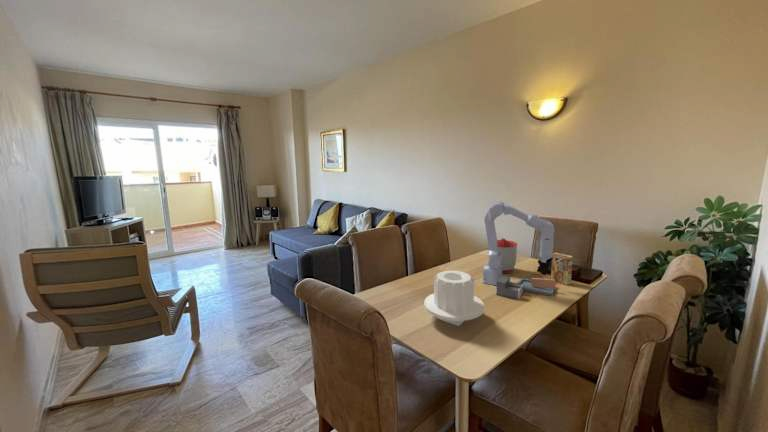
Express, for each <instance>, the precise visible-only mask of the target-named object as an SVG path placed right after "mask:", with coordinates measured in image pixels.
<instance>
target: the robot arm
mask: <svg viewBox="0 0 768 432" xmlns="http://www.w3.org/2000/svg"><path fill="white" fill-rule="evenodd" d="M501 215H503V216H508V215H511V216H514V217H516V218H518V219H520V220H521V221H524V222H525V223H526V225H527V226H529V227H531V228H533V229H535V230H537V231H540V232H541V236H540V244H539V254H538V256H539V258H540V259H538V260H537V264H538V266H539V268H540V270H539V271H540V273H541V275H542V276H543V275H544V276H546V275H547V273H548V271H549V269H550V267H551V264H552V259H553V258H555V255H553V254H554V253H553V252H554V242H555V241H554V239H555V238H554V237H555V235H554V234H555V225H554V224H553V223H552V222H551V221H549V220H547V219H542V218H540V217H538V215H537V214H527V213H525V212H523V211H521V210H519V209H517V208H515V207H514V206H512V205H509V204H508V203H504V202H502V201H496V202H494V203H493V204H492V205H491V207H489V208H488V210H487V212H486V214H485V217H484V225H485V233H486V238H487V240H486V241H487V245H488V246H487V248H489V250H488V261H487V264H485V265H484V267H483V270H482V284H487V285H492V286H497V281H498V279H499V278H500V277H501V276H502V275H503V273H502V266H501V262H502V256H501V255H500V252H499V249H498V243H497V240H498V237H497V231H496V223H495V220H496V219H497V218H499V217H500V216H501Z"/></svg>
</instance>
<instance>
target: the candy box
mask: <svg viewBox="0 0 768 432" xmlns="http://www.w3.org/2000/svg"><path fill="white" fill-rule="evenodd" d="M553 255H555V258H553V259H552V260H551V269H550V270H551V273H550V279H553V280H555V283H558V284H562V285H565V286H568V285H571V284H572V283H571V282H572V271H573V258H574V257H573V256H572V255H568V254H564V253H559V252H554V253H553Z"/></svg>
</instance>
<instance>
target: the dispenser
mask: <svg viewBox="0 0 768 432" xmlns="http://www.w3.org/2000/svg"><path fill="white" fill-rule="evenodd" d="M523 292H524V291H523V284H518V282H512V281H511V276H509V275H504V274H502V276H501V277H500V278H499V279H498V281H497V285H496V295H497V296H499V297H500V296H501V297H506V298H511V299H515V300H520V298H521V295H522V294H523Z"/></svg>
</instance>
